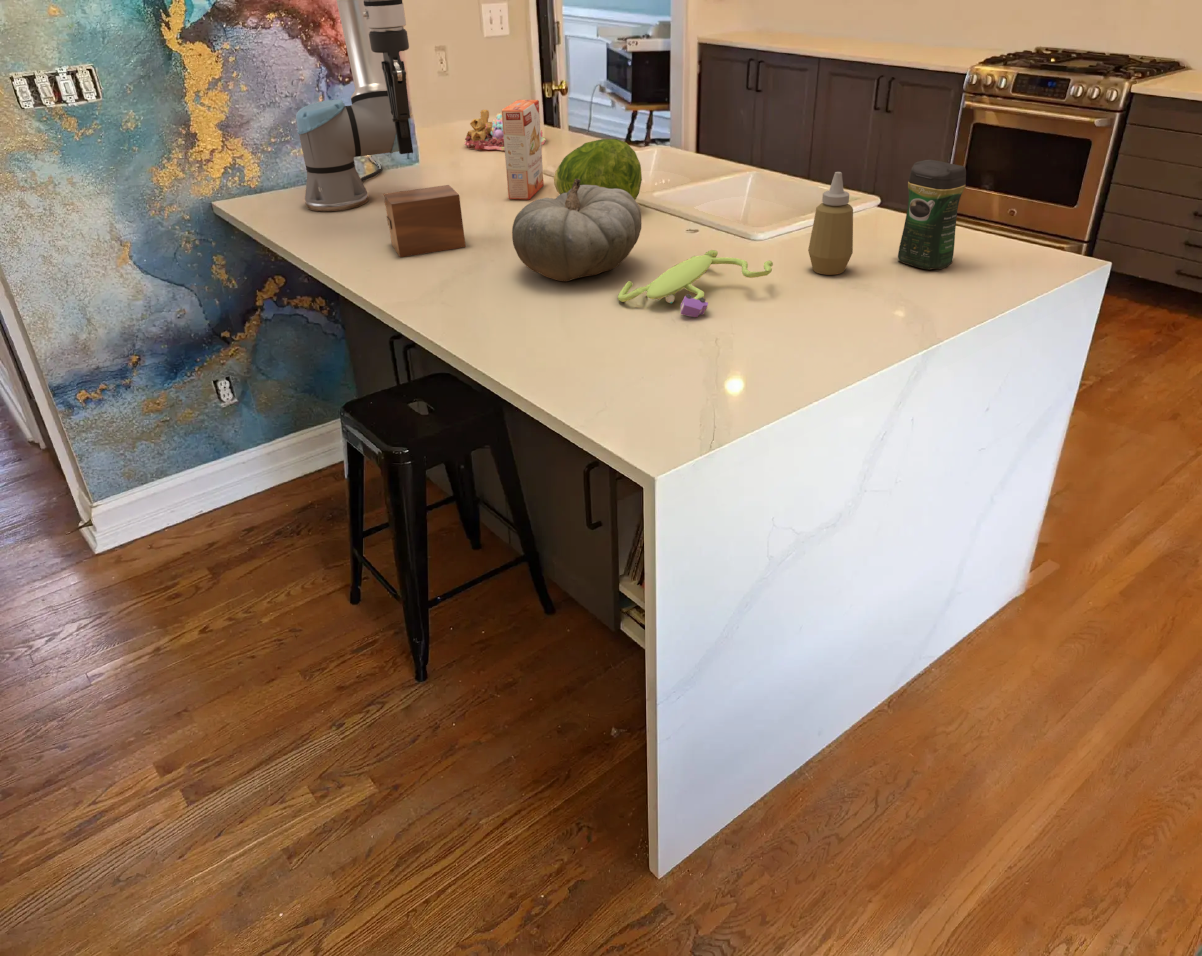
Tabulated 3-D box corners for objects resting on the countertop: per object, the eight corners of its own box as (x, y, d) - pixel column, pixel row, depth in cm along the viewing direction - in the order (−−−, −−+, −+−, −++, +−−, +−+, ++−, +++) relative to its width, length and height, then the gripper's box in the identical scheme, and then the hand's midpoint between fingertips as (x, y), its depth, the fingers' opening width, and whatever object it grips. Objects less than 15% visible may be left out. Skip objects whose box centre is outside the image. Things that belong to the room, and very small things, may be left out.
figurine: (786, 289, 160) (788, 259, 157) (675, 329, 146) (675, 297, 143) (714, 264, 172) (715, 236, 169) (606, 299, 159) (605, 269, 156)
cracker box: (531, 200, 217) (524, 109, 205) (507, 200, 218) (499, 109, 207) (545, 185, 228) (539, 98, 217) (523, 185, 229) (516, 98, 218)
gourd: (674, 252, 171) (657, 163, 162) (585, 310, 159) (560, 217, 149) (587, 240, 188) (566, 158, 178) (500, 291, 176) (472, 207, 166)
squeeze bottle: (825, 281, 163) (835, 180, 153) (797, 268, 169) (805, 171, 159) (859, 272, 166) (871, 173, 156) (831, 260, 172) (840, 164, 162)
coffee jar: (959, 265, 167) (977, 163, 157) (931, 274, 163) (948, 170, 153) (917, 252, 174) (932, 154, 164) (889, 261, 170) (903, 161, 160)
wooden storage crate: (391, 245, 191) (382, 193, 185) (456, 235, 195) (449, 184, 189) (399, 257, 184) (390, 204, 178) (466, 246, 188) (460, 194, 182)
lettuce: (573, 227, 218) (599, 167, 218) (634, 230, 200) (663, 164, 201) (523, 191, 207) (551, 128, 207) (583, 191, 189) (613, 121, 190)
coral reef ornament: (455, 152, 265) (451, 119, 260) (477, 135, 285) (474, 104, 280) (536, 151, 261) (534, 118, 256) (553, 134, 281) (551, 103, 276)
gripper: (363, 28, 180) (383, 149, 192) (373, 33, 170) (394, 161, 182) (399, 25, 182) (417, 145, 195) (412, 30, 172) (430, 156, 184)
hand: (406, 152), depth 188 cm, fingers closed
